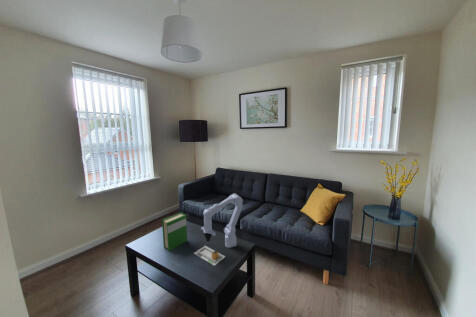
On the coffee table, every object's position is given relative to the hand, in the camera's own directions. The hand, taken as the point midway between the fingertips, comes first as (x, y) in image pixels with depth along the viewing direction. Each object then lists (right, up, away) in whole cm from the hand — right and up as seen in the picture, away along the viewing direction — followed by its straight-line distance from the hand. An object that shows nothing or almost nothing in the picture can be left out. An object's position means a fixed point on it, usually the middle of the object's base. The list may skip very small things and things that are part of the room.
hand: (208, 241), depth 148 cm
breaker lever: (+6, -10, -7) cm, 13 cm away
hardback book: (-29, -8, +12) cm, 33 cm away
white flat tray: (+1, -11, -3) cm, 11 cm away
